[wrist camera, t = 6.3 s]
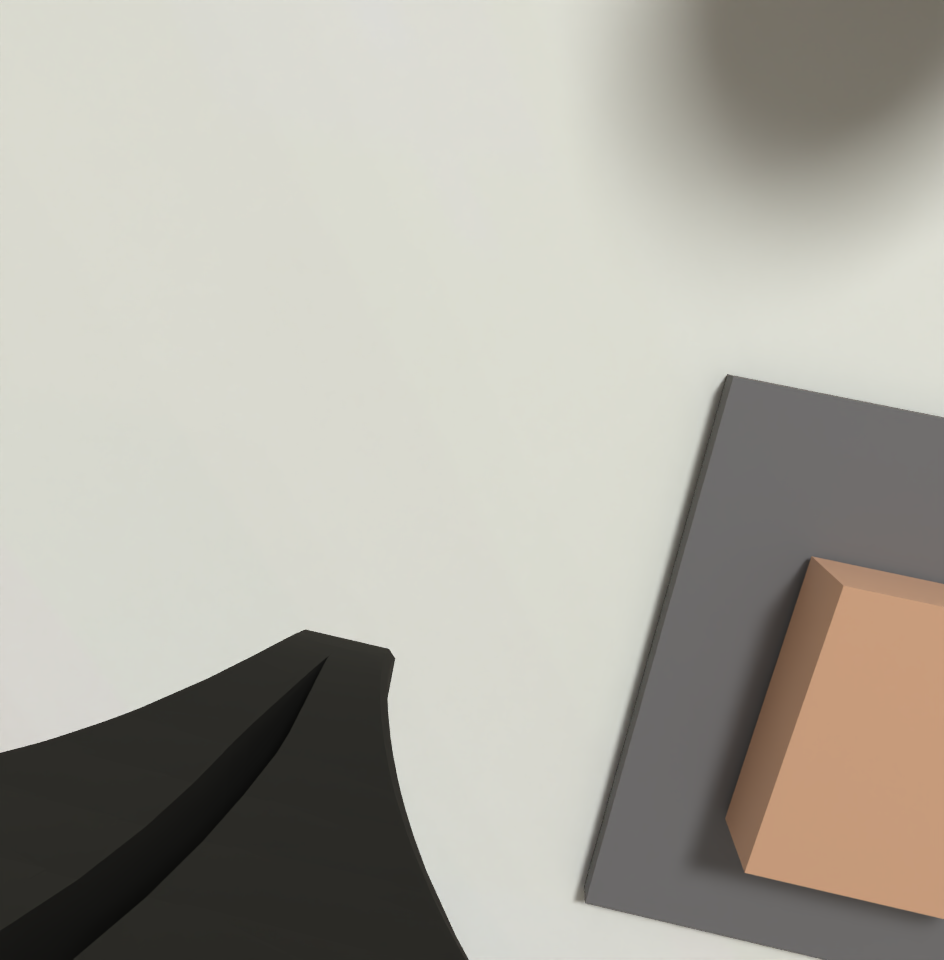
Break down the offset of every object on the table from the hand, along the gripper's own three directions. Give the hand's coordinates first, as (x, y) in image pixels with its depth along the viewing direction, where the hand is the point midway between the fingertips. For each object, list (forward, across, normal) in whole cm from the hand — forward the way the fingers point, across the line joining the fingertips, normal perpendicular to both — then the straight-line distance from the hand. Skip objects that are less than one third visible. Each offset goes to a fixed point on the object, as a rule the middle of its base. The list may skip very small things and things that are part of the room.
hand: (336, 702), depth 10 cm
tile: (+8, -10, +3) cm, 13 cm away
